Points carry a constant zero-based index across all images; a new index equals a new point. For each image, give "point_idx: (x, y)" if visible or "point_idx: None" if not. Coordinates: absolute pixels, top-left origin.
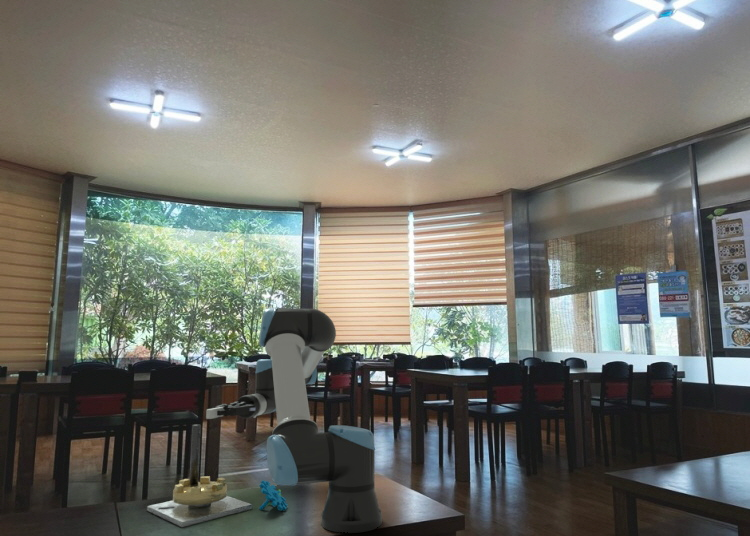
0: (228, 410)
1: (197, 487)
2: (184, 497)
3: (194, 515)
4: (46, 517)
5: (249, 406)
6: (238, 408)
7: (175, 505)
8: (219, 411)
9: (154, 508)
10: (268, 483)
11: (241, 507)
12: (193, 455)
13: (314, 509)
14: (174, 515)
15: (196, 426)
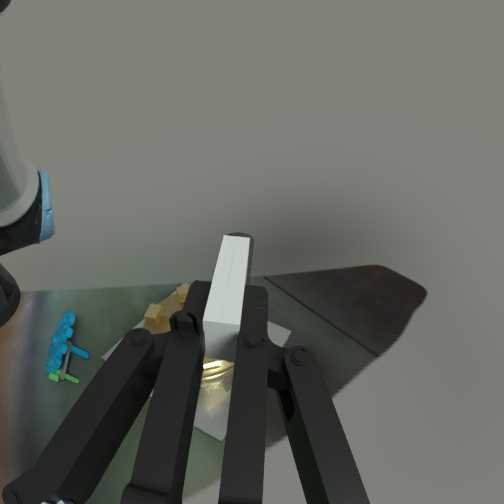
0: (165, 337)
1: (182, 289)
2: None
3: None
4: (389, 292)
5: (37, 466)
6: (101, 375)
7: None
8: (199, 283)
9: (268, 323)
10: (61, 343)
11: (116, 343)
12: None
13: (14, 356)
14: None
15: (231, 235)
